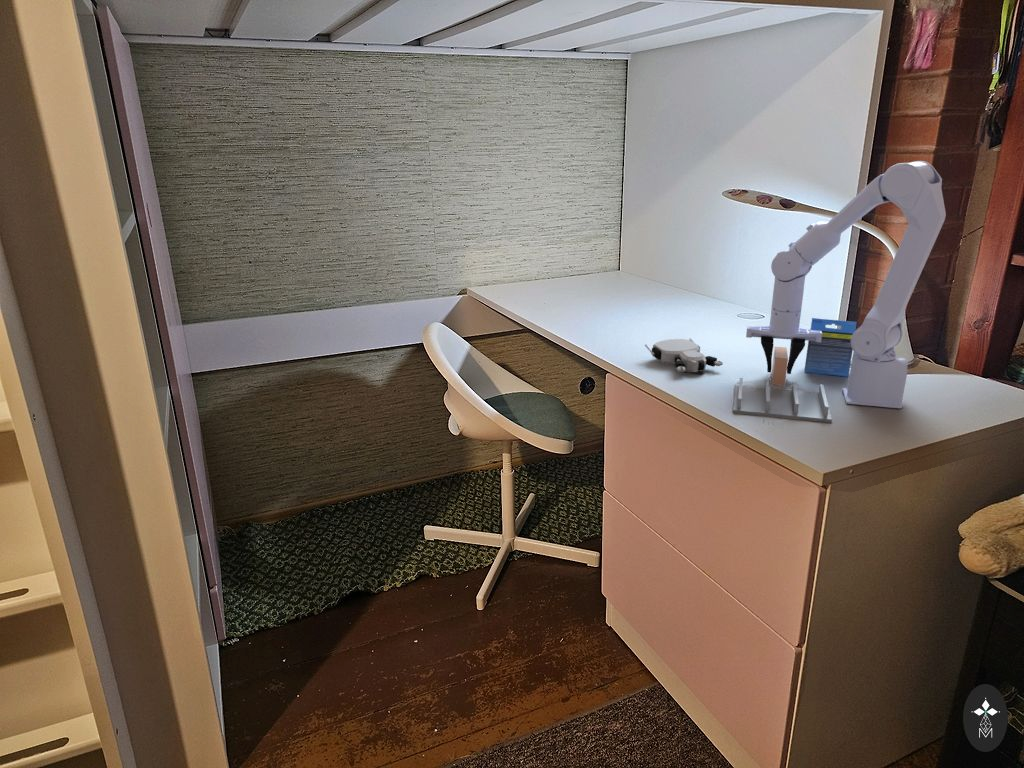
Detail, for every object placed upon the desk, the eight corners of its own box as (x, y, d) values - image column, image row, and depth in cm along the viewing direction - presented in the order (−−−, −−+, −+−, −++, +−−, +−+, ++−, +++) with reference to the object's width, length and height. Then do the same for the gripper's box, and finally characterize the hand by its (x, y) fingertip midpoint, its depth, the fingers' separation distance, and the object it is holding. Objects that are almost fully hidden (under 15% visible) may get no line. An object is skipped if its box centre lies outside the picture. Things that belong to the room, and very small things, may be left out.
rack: (824, 395, 137) (826, 383, 136) (831, 422, 124) (833, 409, 123) (735, 387, 142) (736, 375, 141) (732, 412, 129) (734, 400, 128)
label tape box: (848, 372, 149) (857, 317, 145) (848, 378, 146) (857, 321, 142) (804, 367, 153) (811, 313, 149) (803, 373, 149) (811, 318, 145)
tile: (783, 373, 149) (786, 347, 147) (784, 386, 142) (788, 358, 140) (771, 372, 150) (774, 346, 148) (772, 385, 143) (775, 357, 141)
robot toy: (725, 376, 152) (687, 352, 165) (727, 356, 150) (689, 334, 163) (676, 383, 148) (642, 358, 161) (678, 364, 146) (643, 340, 159)
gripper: (823, 306, 142) (814, 368, 147) (749, 302, 147) (743, 363, 151) (826, 314, 136) (817, 379, 141) (748, 310, 141) (742, 373, 145)
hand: (778, 371), depth 146 cm, fingers open, 3 cm apart
